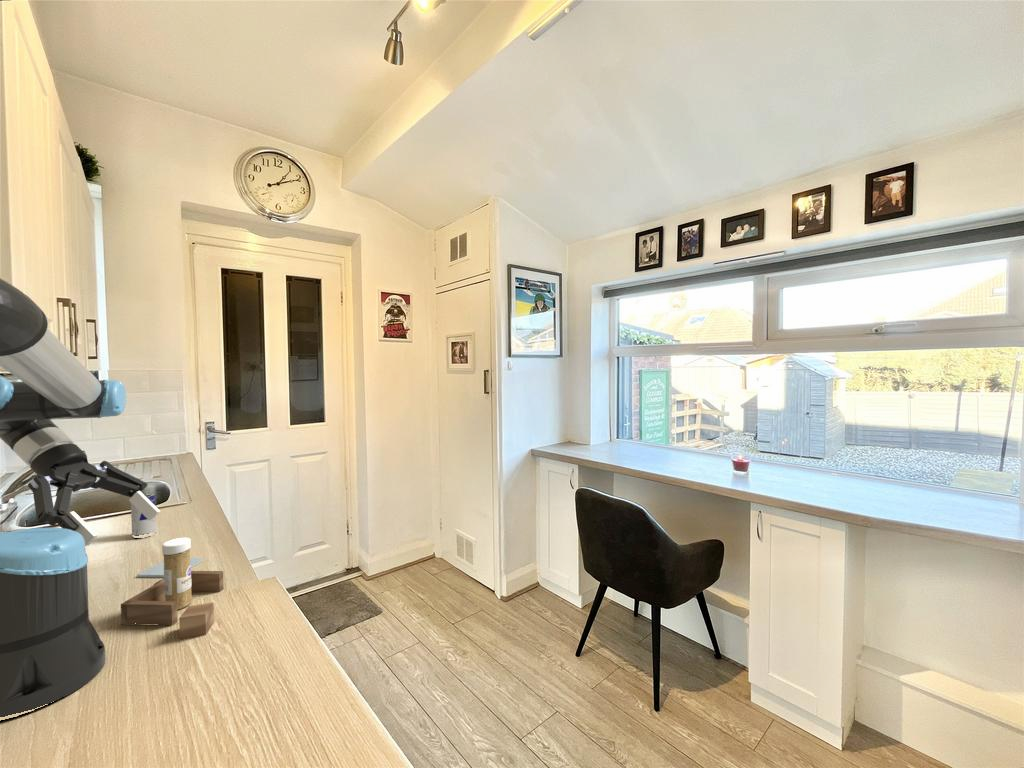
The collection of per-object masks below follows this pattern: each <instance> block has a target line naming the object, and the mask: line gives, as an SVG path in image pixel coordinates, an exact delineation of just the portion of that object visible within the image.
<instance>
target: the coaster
mask: <svg viewBox="0 0 1024 768" xmlns="http://www.w3.org/2000/svg"><path fill="white" fill-rule="evenodd" d="M203 560H204V561H205V557H190V565H191V569H192V568H193V567H195V566H196V565H198V564H200V563H202V562H204V561H203ZM136 578H162V579H164V560H163V561H161V562H159V563H157V564H155V565H153V566H151V567H149V568H148V569H145V570H143V571H141V572H139V573H138V574H136Z"/></svg>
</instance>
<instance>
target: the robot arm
mask: <svg viewBox="0 0 1024 768" xmlns="http://www.w3.org/2000/svg"><path fill="white" fill-rule="evenodd" d="M0 367H2V368H3V369H4V370H5V371H7V372H8V373H10V374H11V375H13V376H14V377H15V378H17V379H18V380H20V381H10V380H9V379H8V378H5V377H4V376H0V440H2V441H3V442H4V443H5V445H7V446H8V447H9V448H10V449H11V450H12V451H13V452H14V453H15V454H16V455H17V456H18V457H19V458H20V459H21V460H22V461H23V463H25V464H26V465H28V466H29V468H30V469H31V471H32V472H33V473H35V474H36V475H35V476H34V477H33V478H32V479H31V480H30V481H29V483H28V484H27V487H28V488H29V489H30V491H31V492H32V494H33V496H32V497H33V501H34V502H33V503H34V508H35V516H36V522H37V523H38V524H41V525H43V524H45V523H47V522H48V523H47V524H48V525H49V526H56V525H58V526H59V527H36V528H35V527H33V528H24V529H23V528H22V529H15V530H12V531H10V532H0V717H5V716H8V715H12V714H16V713H21V712H24V711H28V710H32V709H35V708H37V707H40V706H43V705H45V704H49V703H51V702H53V701H56V700H58V699H60V698H62V697H64V698H65V696H66V697H67V696H69V695H70V694H72V693H74V692H76V691H77V690H79V689H80V688H82V687H84V686H85V685H86V684H88V683H89V682H90V681H92V680H93V679H94V678H95V677H96V676H97V675H98V674H99V673H100V672H101V671H102V670H103V668H104V666H105V665H106V662H105V661H106V659H107V655H106V647H105V643H104V642H103V641H102V640H101V638H100V635H99V634H98V631H96V628H95V627H94V625H93V623H92V621H91V619H90V616H89V615H90V614H89V586H88V585H89V584H88V582H89V580H88V563H89V556H88V554H87V552H86V551H87V550H86V549H87V548H86V547H87V546H89V545H90V544H91V543H92V542H93V541H94V540H95V539H96V538H97V537H98V536H99V533H97V532H95V530H94V529H93V528H92V527H91V526H90V525H89V524H88V523H87V522H86V521H85V520H84V519H83V518H82V517H80V516H79V514H77V512H75V511H69V507H70V501H71V498H72V494H73V493H75V492H78V491H80V490H87V489H90V488H91V489H101V490H105V491H109V492H111V493H115V494H118V495H121V496H125V497H128V498H129V499H128V501H129V502H130V504H131V503H132V504H133V505H134V506H135V507H136V508H137V509H138V510H139V511H140V512H141V513H142V514H143V515H144V516H145V517H146V518H147V519H148V520H149V521H151V520H153V519H154V518H155V517H157V516H158V515H159V513H161V510H160V509H159V508H158V507H157V506H156V504H155V505H154V504H153V503H152V501H151V499H150V498H149V497H148V496H147V495H146V493H145V492H144V490H145V489H146V488H147V487H148V485H149V484H148V483H147V482H145V481H144V480H141V479H139V478H137V477H135V476H133V475H131V474H129V473H127V472H125V471H123V470H121V469H119V468H118V467H115V466H113V464H111V463H110V462H108V461H107V460H102V461H101V462H100V463H99V464H96V465H94V464H91V463H89V461H88V456H87V454H86V453H85V451H83V450H82V448H80V447H79V446H78V445H77V444H76V443H75V442H74V441H73V439H72V438H70V437H69V436H68V435H67V434H66V433H65V432H64V431H63V430H62V429H61V428H60V427H59V426H57V424H55V423H54V422H53V420H70V419H71V420H72V419H94V418H97V419H101V418H108V417H109V418H110V417H117V416H120V415H122V413H123V412H124V411H125V408H126V405H127V393H126V388H125V385H124V384H123V383H122V382H121V381H120V380H119V381H118V380H109V379H103V380H99V378H97V377H96V376H95V375H94V374H93V373H92V372H91V371H90V370H89V369H88V368H87V367H86V366H85V365H84V364H83V362H81V361H80V360H79V358H77V357H76V356H75V354H73V353H72V351H71V350H69V348H68V347H67V346H65V345H64V344H63V342H62V341H61V340H60V339H59V338H58V337H57V336H56V335H55V334H54V333H53V332H52V331H51V330H50V329H49V320H48V318H47V315H46V313H45V312H44V311H43V310H42V308H41V307H40V306H39V305H37V303H35V301H34V300H32V298H30V297H29V296H28V295H27V294H25V293H24V292H23V291H22V290H20V289H19V288H17V287H15V286H14V285H13V284H12V283H9V282H7V281H5V279H2V278H1V277H0ZM98 478H99V479H98ZM97 479H98V480H97ZM51 486H52V487H55V488H57V489H56V493H55V497H56V499H55V501H54V503H53V497H52V489H51ZM72 492H73V493H72ZM68 511H69V512H68ZM104 664H105V665H104ZM101 669H102V670H101ZM62 699H63V698H62ZM60 700H61V699H60ZM58 701H59V700H58ZM56 702H57V701H56Z"/></svg>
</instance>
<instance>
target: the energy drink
mask: <svg viewBox="0 0 1024 768" xmlns="http://www.w3.org/2000/svg"><path fill="white" fill-rule="evenodd" d="M145 494H146V495H147V496H148V497H149V498H150V499H151V501H152V503H153V504H154V505H155V506H156V496H155V493H150V492H148V493H145ZM130 513H131V514H130V517H131V536H132V535H134V536H139V535H144V534H149V533H151V532H154V531H155V530H156V531H157V523H156V522H157V520H156V517H157V516H156V517H155V518H154V519H153V520H151V521H149V520H148V519H147V518H146V517H145V516H144V515H143V514H142V513H141V512H140V511H139V510H138V509H137V508H136V507H135V506H134V505H133V504H132V503H131V502H130Z"/></svg>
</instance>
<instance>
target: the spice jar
mask: <svg viewBox="0 0 1024 768" xmlns="http://www.w3.org/2000/svg"><path fill="white" fill-rule="evenodd" d="M191 543H192V542H191V538H189V537H177V538H173V539H170V540H167V541H165V542H164V543H162V546H161V547H162V548H161V550H162V552H161V553H162V556H163V561H164V578H163V579H164V592H165V601H177V611H179V609H180V610H182V609H185V608H186V607H187V608H188V606H190V605H191V604H192V603H193V598H192V592H191V586H192V582H191V571H192V568H191V565H190V558H191V552H190V551H191V547H192V544H191Z"/></svg>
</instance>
